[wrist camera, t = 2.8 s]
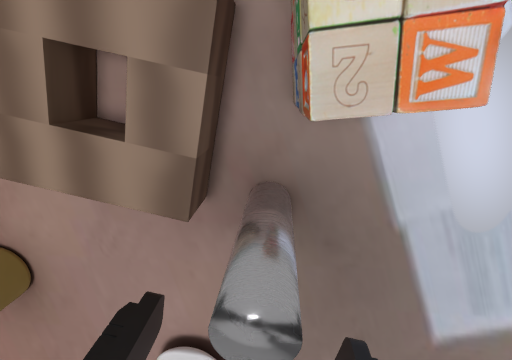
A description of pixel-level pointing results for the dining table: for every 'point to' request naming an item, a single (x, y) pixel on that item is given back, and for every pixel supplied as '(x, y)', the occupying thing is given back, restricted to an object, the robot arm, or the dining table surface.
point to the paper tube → (12, 277)
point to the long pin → (260, 284)
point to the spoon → (185, 354)
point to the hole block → (137, 99)
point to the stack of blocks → (392, 55)
